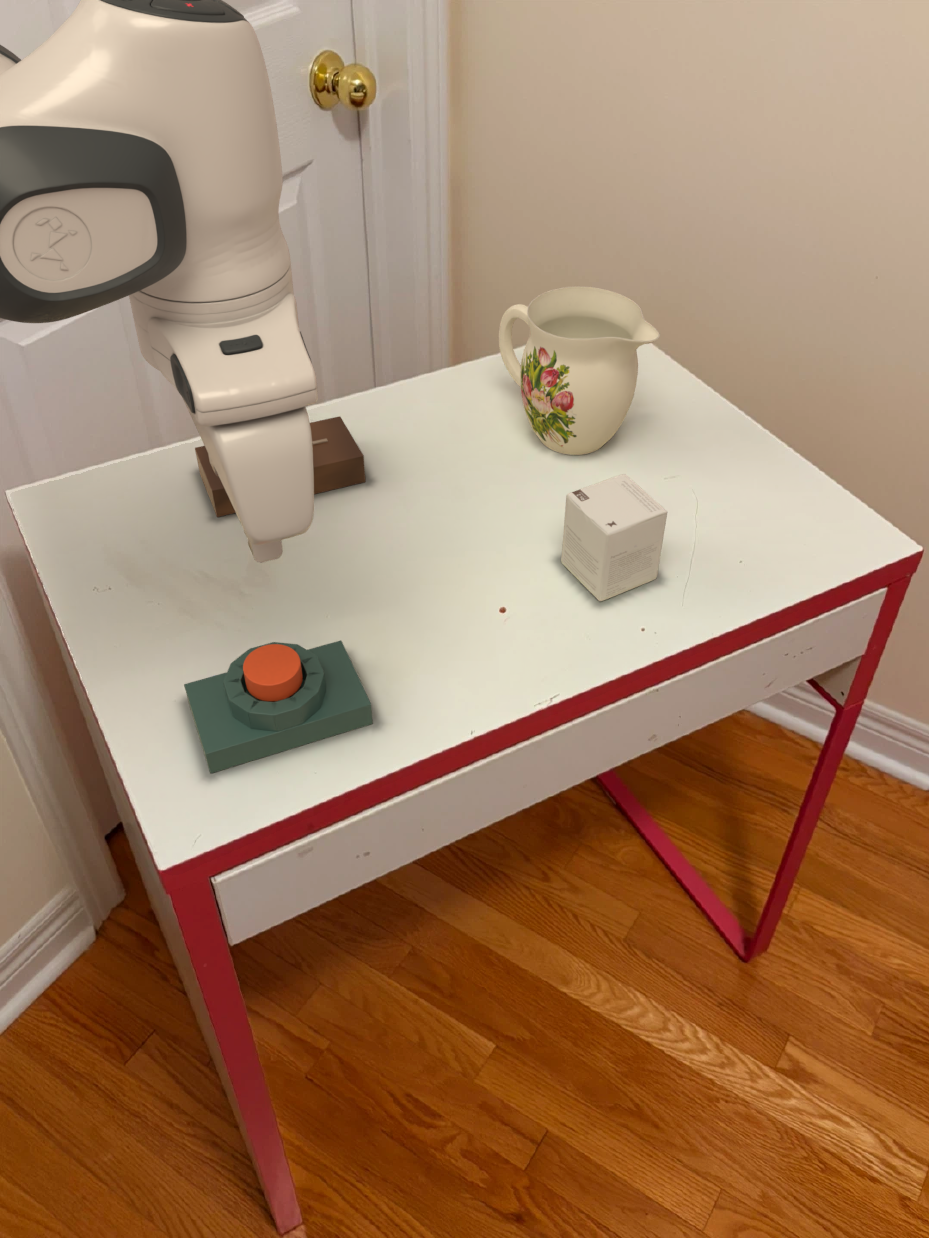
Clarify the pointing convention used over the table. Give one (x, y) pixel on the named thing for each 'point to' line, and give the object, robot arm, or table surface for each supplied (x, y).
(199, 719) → the button block
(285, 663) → the release button
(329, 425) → the dial panel
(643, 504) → the product carton
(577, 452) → the pitcher
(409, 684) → the table surface
